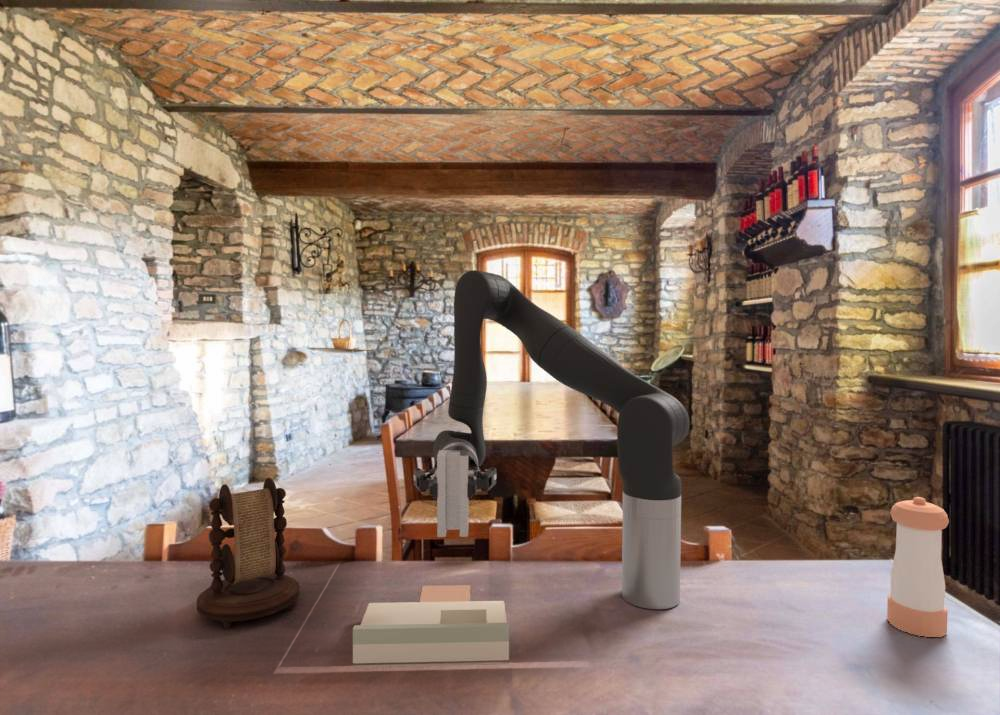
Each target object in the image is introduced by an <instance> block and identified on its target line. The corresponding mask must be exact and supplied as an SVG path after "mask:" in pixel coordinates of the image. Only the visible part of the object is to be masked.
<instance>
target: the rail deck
mask: <svg viewBox="0 0 1000 715" xmlns="http://www.w3.org/2000/svg"><path fill="white" fill-rule="evenodd" d="M506 615H507V613H506V606H505V601H504V600H474V601H473V600H470V601H458V602H420V601H415V602H414V601H411V602H410V601H408V602H406V601H402V602H369V603H368V604H367V607H366V610H365V612H364V615H363V618H362V621H361V623H360V624H357V625H356V624H355V625H354V626H353V627H352V664H353V665H352V668H353V669H354V668H360V669H361V668H398V667H399V668H401V667H404V668H405V667H442V666H443V667H444V666H448V667H449V666H453V667H454V666H485V665H486V666H488V665H489V666H491V665H494V666H495V665H497V666H498V665H510V662H509V660H510V622H507V616H506ZM478 661H479V662H478ZM480 661H482V662H480ZM485 661H486V662H485ZM487 661H488V662H487ZM489 661H490V662H489ZM492 661H493V662H492ZM498 661H499V662H498ZM432 662H433V663H432ZM434 662H435V663H434ZM437 662H439V663H437ZM441 662H442V663H441ZM443 662H444V663H443ZM446 662H447V663H446ZM388 663H389V664H388ZM390 663H391V664H390ZM394 663H397V664H394ZM399 663H400V664H399Z"/></svg>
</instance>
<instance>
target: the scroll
mask: <svg viewBox="0 0 1000 715" xmlns="http://www.w3.org/2000/svg"><path fill="white" fill-rule="evenodd" d="M286 496H287V493H286V490H285V489H284V488H283V487H278V488H277V485H276V484H275V481H274V479H272V477H266V479H265V480H264V482H263V486H262V488H260V489H253V490H249V491H247V490H246V491H243V492H241V491H240V492H236V493H231V490H230V487H229V485H227V484H226V483H224V484H222V485H221V487H220V489H219V494H218V497H214V498H212V499H211V500H210V502H209V504H208V507H209V510H211V512H210V515H211V516H212V519H211V522H210V527H211V530H210V531H209V532H208V540H209V543H210V545H211V546H212V549H211V554H210V556H211V558H212V560H211V561H210V563H209V569H210V571H211V572H212V573H211V574H210V575H211V577H212V578H213V579H212V582H211V584H210V586H208V587H207V588H206V589H204V590H203V591H202V592H201V593H200V594H199V595H198V597H197V599H196V612H197V613H198V615H200V616H201V617H202V618H204V619H207V620H212V621H217V622H222V623H223V624H222V625H223V627H224V629H225V630H229V629H230V627H231V625H232V622H242V621H250V620H255V619H259V618H263V617H267V616H271V615H273V614H275V613H278V612H281V611H282V610H284V609H285V610H286V608H288V609H289V610H290V611H292V610H294V608H295V605H296V601H297V600H298V598H299V596H300V588H301V587H300V583H299V582H298V580H296V579H295V578H294V577H291V576H289V575H287V574H285V572H286V567H285V564H284V561H285V559H286V558H285V557H284V556H285V555H286V554H287V548H286V546H285V545H284V544H285V542H286V540H285V536H284V533H283V532H285V529H286V527H287V526H288V520H287V518H286V517H285V516H284V515H285V513H286V512H285V508H284V504H285V500H284V499H285V497H286ZM220 515H221V516H220ZM222 520H223V521H224V522H226V523H227V524H228V526H229V527H230V528H228V529H226V531H225V530H224V529H223V528H221V527H222V526H223V522H222ZM231 526H233V527H232V528H231ZM275 533H276V534H275ZM226 538H227V539H233V538H234V555H233V552H232V549H231V547H230V545H229V544H227V543H224V545H223V541H224V540H225V539H226ZM221 545H223V546H222V547H221ZM221 576H223V578H224V579H222V578H221Z"/></svg>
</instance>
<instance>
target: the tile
mask: <svg viewBox="0 0 1000 715" xmlns="http://www.w3.org/2000/svg"><path fill="white" fill-rule="evenodd" d="M420 593H421V594H420V597H419V602H458V601H471V584H466V585H465V584H463V585H462V584H459V585H456V584H455V585H449V584H448V585H422V588H421V592H420Z"/></svg>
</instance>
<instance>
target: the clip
mask: <svg viewBox="0 0 1000 715" xmlns="http://www.w3.org/2000/svg"><path fill="white" fill-rule="evenodd" d="M437 483H438V498H436V500H437V501H436V503H437V504H436V511H437V512H436V513H437V514H436V515H437V516H436V518H437V520H436V521H437V522H436V523H437V524H436V526H437V529H436V531H437V534H436V536H437V538H444V537H446V536H447V531H448V530H449V531H450V530H451V531H452V530H453V531H455V530H457V531H458V530H459V537H460V538H462V537H464V538H465V537H469V498H468V497H467V485H468V450H439V452H438V455H437Z"/></svg>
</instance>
